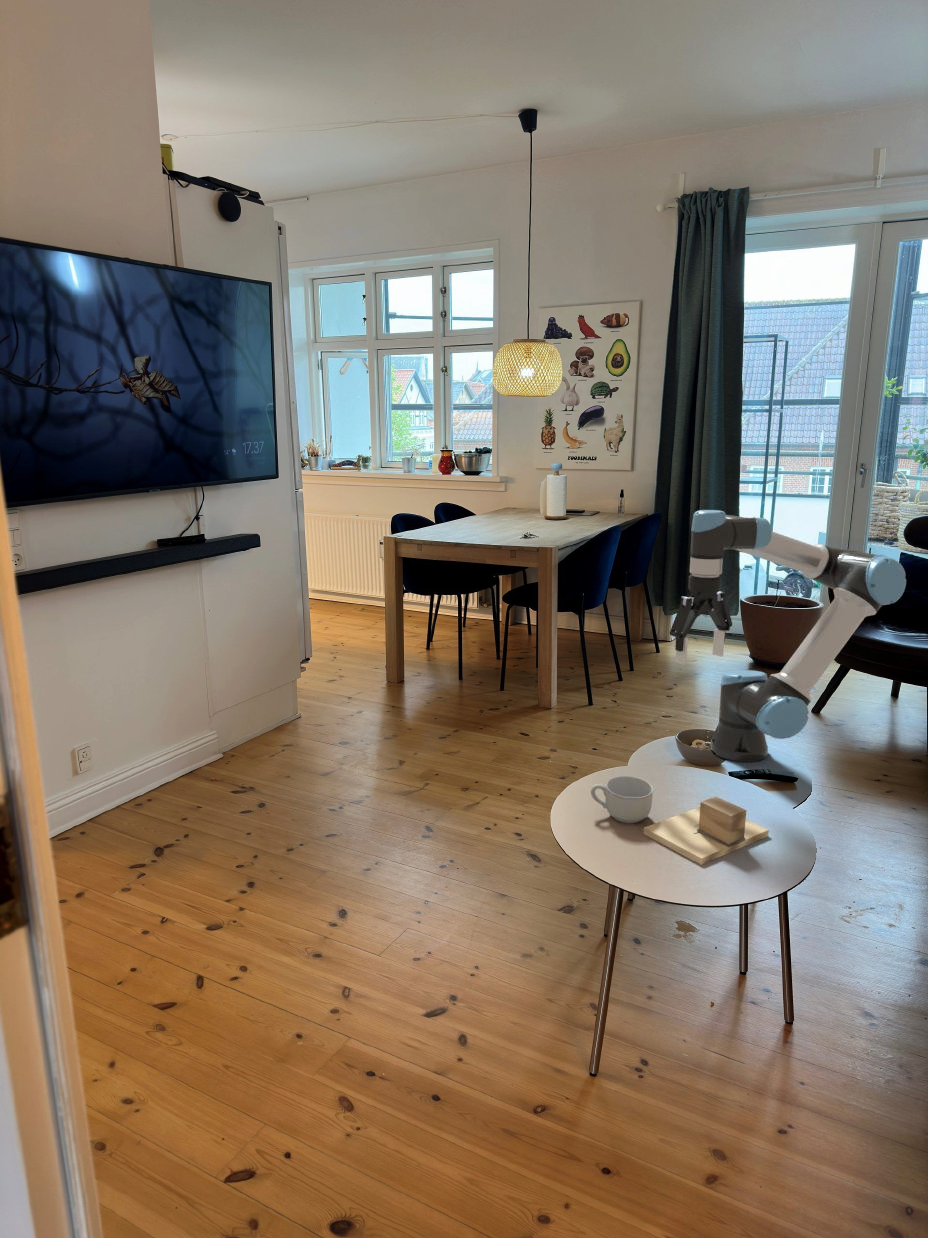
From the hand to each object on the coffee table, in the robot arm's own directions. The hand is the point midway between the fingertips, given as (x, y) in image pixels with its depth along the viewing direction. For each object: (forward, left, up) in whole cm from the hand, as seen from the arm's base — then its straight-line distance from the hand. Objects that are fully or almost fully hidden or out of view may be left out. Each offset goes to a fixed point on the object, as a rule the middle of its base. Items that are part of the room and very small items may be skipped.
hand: (699, 659), depth 201 cm
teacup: (+30, +5, -32) cm, 44 cm away
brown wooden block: (+21, +26, -30) cm, 45 cm away
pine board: (+21, +22, -32) cm, 44 cm away
